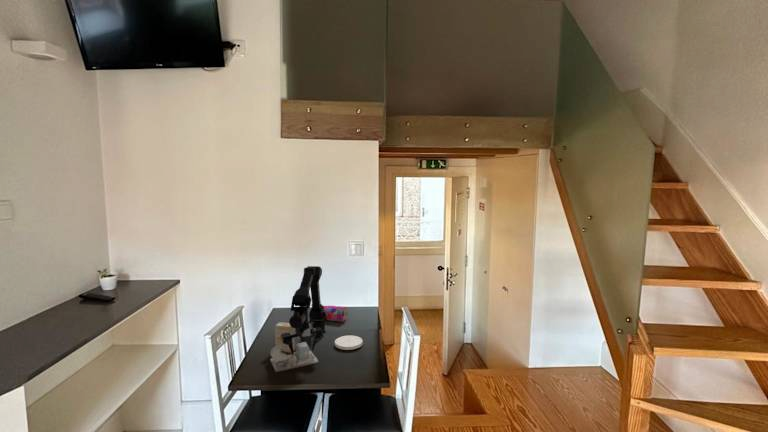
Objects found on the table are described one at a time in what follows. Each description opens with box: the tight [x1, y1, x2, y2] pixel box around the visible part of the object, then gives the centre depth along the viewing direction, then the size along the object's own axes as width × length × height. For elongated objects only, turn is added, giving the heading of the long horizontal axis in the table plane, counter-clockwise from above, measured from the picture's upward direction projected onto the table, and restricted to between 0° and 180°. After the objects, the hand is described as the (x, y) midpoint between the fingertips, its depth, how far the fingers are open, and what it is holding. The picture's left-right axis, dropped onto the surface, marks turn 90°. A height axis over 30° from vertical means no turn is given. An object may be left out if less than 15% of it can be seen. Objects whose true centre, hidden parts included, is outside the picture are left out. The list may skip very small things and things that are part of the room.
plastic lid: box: [334, 334, 364, 351], centre depth 193 cm, size 14×14×2 cm
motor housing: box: [269, 345, 319, 373], centre depth 175 cm, size 19×12×7 cm, turn 118°
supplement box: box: [274, 321, 296, 354], centre depth 187 cm, size 8×5×13 cm, turn 71°
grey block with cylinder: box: [295, 341, 310, 360], centre depth 176 cm, size 4×8×6 cm, turn 28°
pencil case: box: [310, 304, 348, 323], centre depth 229 cm, size 22×9×9 cm, turn 75°
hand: (302, 352), depth 176 cm, fingers open, 9 cm apart
